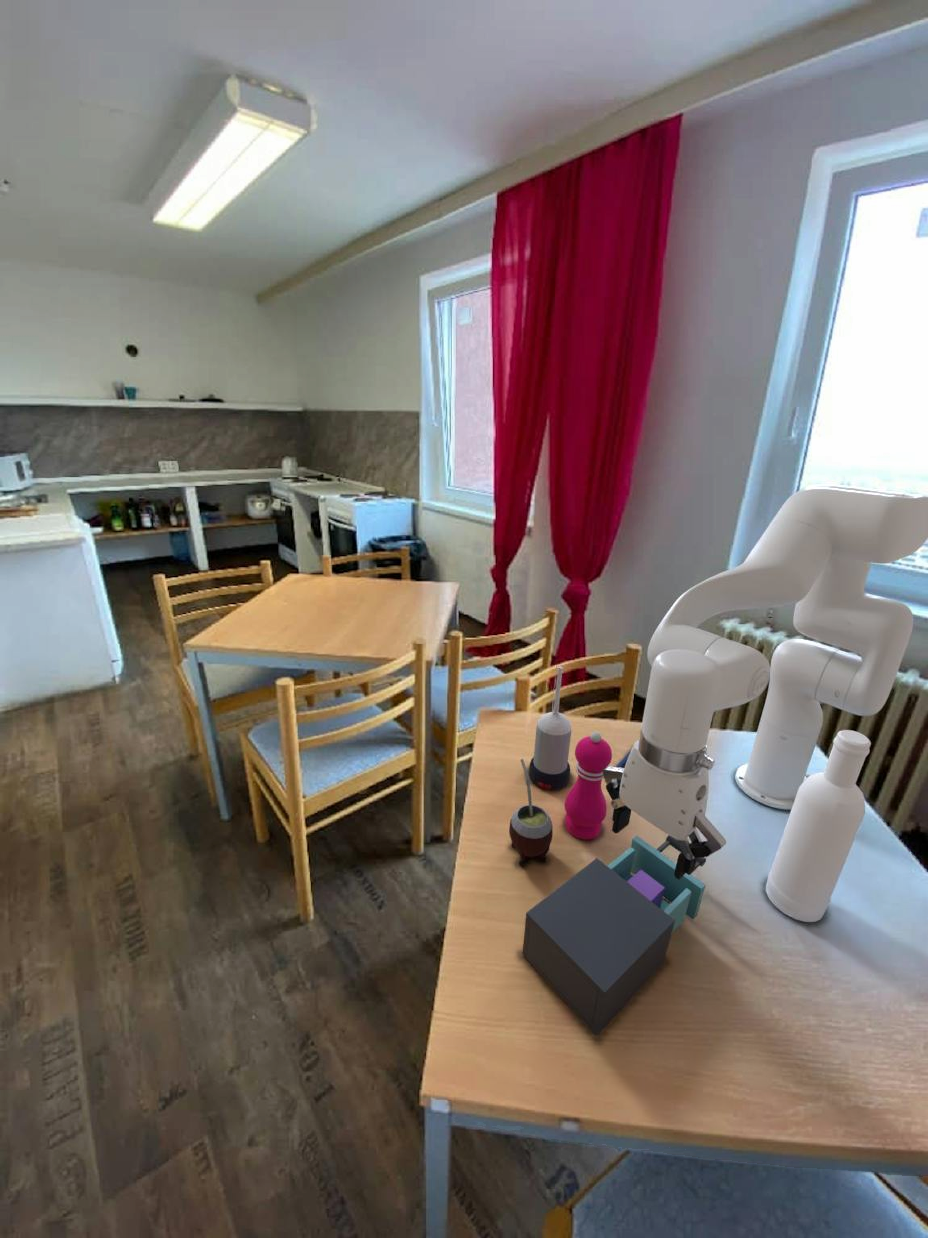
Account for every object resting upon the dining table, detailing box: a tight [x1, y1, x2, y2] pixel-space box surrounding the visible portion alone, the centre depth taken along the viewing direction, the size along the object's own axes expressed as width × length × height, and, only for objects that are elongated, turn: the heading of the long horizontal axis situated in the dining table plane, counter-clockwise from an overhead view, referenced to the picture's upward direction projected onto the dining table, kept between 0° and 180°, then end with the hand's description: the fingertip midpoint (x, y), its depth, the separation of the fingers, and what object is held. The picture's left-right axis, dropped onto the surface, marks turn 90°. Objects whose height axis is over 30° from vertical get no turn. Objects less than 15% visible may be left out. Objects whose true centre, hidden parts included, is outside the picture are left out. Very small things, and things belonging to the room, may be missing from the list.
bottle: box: [765, 729, 872, 923], centre depth 74 cm, size 8×8×30 cm
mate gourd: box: [508, 758, 554, 867], centre depth 84 cm, size 8×8×15 cm
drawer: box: [607, 834, 707, 934], centre depth 76 cm, size 19×11×6 cm, turn 129°
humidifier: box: [528, 664, 572, 791], centre depth 100 cm, size 8×8×25 cm
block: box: [627, 870, 665, 908], centre depth 75 cm, size 4×4×4 cm
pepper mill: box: [564, 731, 613, 841], centre depth 89 cm, size 7×7×20 cm
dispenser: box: [521, 857, 675, 1037], centre depth 69 cm, size 15×13×8 cm
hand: (649, 849), depth 71 cm, fingers open, 9 cm apart
